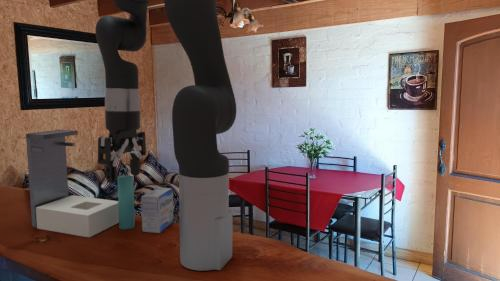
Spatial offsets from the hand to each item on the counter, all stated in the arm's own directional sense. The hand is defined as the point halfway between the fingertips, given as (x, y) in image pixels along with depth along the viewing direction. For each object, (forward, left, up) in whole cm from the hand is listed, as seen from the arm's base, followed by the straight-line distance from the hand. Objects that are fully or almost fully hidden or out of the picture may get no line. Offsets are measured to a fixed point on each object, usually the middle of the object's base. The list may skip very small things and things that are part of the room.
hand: (124, 178), depth 88 cm
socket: (+11, +3, -12) cm, 16 cm away
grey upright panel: (+18, +3, -12) cm, 21 cm away
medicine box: (-7, -3, -12) cm, 14 cm away
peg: (0, 0, -12) cm, 12 cm away
